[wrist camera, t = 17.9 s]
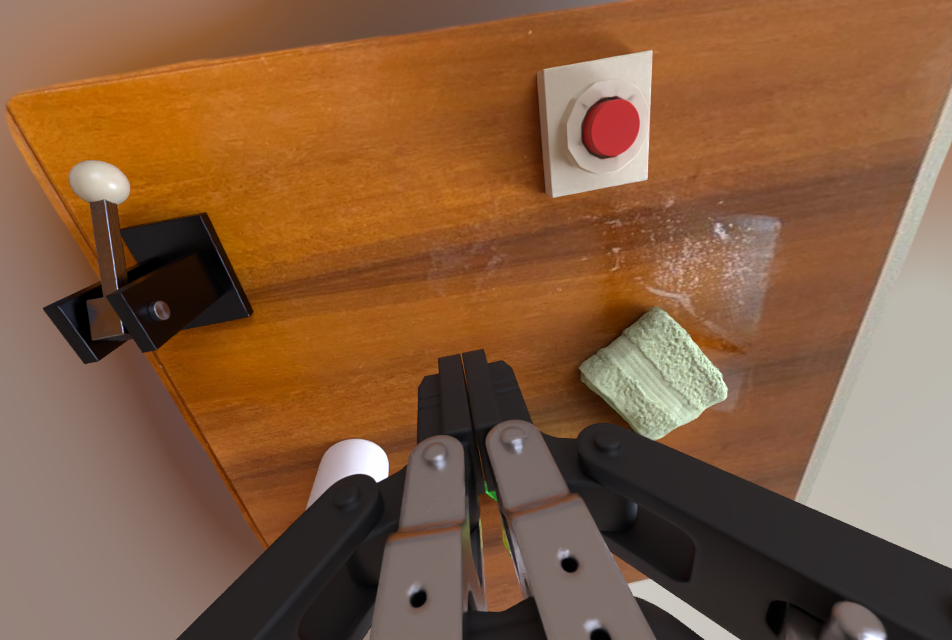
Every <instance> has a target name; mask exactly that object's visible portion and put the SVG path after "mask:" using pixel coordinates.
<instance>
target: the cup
mask: <svg viewBox="0 0 952 640" xmlns="http://www.w3.org/2000/svg"><path fill="white" fill-rule="evenodd" d="M388 470H389V463H388V458H387V456H386V454H385V452H384V451H383V450H382V449H381V448H380V447H379V446H378V445H376V444H375V443H373V442H370V441H367V440H363V439H348V440H344V441H341V442H338V443H336V444H335V445H333V446H332V447H330V448H329V449H328V450H327V451H326V452H325V454H324V456H323V458H322V460H321V462H320V465H319V468H318V472H317V475H316V478H315V481H314V485H313V488H312V491H311V494H310V497H309V501H308V504H307V507H306V510H307V509H308V508H309V507H310V506H311V505H312V504H313V503H314V502H315V501H316V500H317V499H318V498H319V497H320V496H321V495H322V494H323V493H324V492H325V491H326V490H327V489H328V488H329V487H330V486H331V485H332V484H334V483H335V482H337V481H338V480H340V479H342V478H344V477H346V476H349V475H353V474H366V475H369V476H371V477H373V478H374V479H375V480H376V482H379V481H381V480H383V479H385V478H387V477H388ZM306 510H305V511H306Z"/></svg>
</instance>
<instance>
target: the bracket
mask: <svg viewBox="0 0 952 640" xmlns="http://www.w3.org/2000/svg"><path fill="white" fill-rule="evenodd" d="M121 236H122V238H123V240H124V241H125V243H126V245H127V246H128V248H129V250H130V252H131V253H132V255H133V257H134V258H135V260H136V262H137V263H138V264H136V265H134V266H132V267H129V268H127V269H126V270H127V277H128V283H129V284H127V285H126V286H124V287H122V288H120V289H118V290H116V291H114V292H112V293H110V294H108V295H106V298H107V300H108V301H109V303H110V304H111V306H112V307H113V309H114V310H115V312H116V313H117V315H118V316H119V318H120V319H121V321H122V322H123V324H124V326H125V327H126V329H127V330H128V332H129V333H130V335H131V336H132V338H133V339H134V341H135V342H136V344H137V345H138V347H139V348H140V350H141V351H142V353H144V352H150V351H155V350H157V349H158V348H160V347H161V346H162V345H163V344H165V343H166V342H167V341H168V340H169V339H171V338H172V337H173V336H174V335H175V334H177V333H178V332H179V331H180V330H185V329H190V328H195V327H200V326H205V325H211V324H216V323H221V322H226V321H231V320H236V319H241V318H246V317H249V316H250V315H251V314H252V313H253V309H252V307H251V305H250V303H249V301H248V299H247V297H246V295H245V293H244V290H243V288H242V286H241V284H240V282H239V280H238V278H237V276H236V274H235V272H234V269H233V267H232V265H231V263H230V261H229V259H228V257H227V255H226V253H225V250H224V248H223V246H222V244H221V242H220V240H219V238H218V236H217V234H216V232H215V229H214V227H213V225H212V223H211V221H210V219H209V217H208V215H207V213H199V214H194V215H189V216H183V217H178V218H172V219H167V220H162V221H156V222H151V223H146V224H140V225H135V226H129V227H125V228H122V229H121ZM102 297H103V292H102V285H101V281H99V282H97V283H95V284H93V285H91V286H89V287H87V288H84V289H82V290H80V291H78V292H76V293H74V294H72V295H70V296H68V297H65V298H63V299H61V300H59V301H57V302H54V303H52V304H50V305H48V306H46V307H44V308H43V310H44V311H45V313H46V314H47V315H48V317H49V318H50V319H51V321H52V322H53V323H54V325H55V326H56V327H57V329H58V330H59V331H60V333H61V334H62V335H63V336H64V338H65V339H66V340H67V342H68V343H69V344H70V346H71V347H72V348H73V350H74V351H75V352H76V354H77V355H78V356H79V358H80V359H81V360H82V362H83V363H84V364H87V363H93V362H98V361H99V360H101V359H102V358H104V357H105V356H107V355H108V354H109V353H111V352H112V351H114V350H115V349H116V348H118V347H119V346H121V345H122V344H123V343H125V342H126V341H128V340H125V341H97V340H92V339H91V333H90V326H89V318H88V311H87V304H86V301H87V300H92V299H97V298H102Z"/></svg>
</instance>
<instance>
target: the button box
mask: <svg viewBox="0 0 952 640" xmlns="http://www.w3.org/2000/svg"><path fill="white" fill-rule="evenodd" d="M651 72H652V50H649V51H643V52H638V53H632V54H627V55H621V56H615V57H610V58H604V59H599V60H593V61H587V62H582V63H576V64H571V65H565V66H559V67H554V68H548V69H544V70H542V71H540V72H538V73H537V86H538V99H539V112H540V125H541V138H542V152H543V165H544V178H545V191H546V194H547V195H548V196H550V197H552V198H554V197H559V196H564V195H570V194H575V193H580V192H585V191H591V190H596V189H601V188H606V187H612V186H617V185H622V184H627V183H632V182H638V181H643V180H647V172H648V147H649V122H650V97H651ZM616 99H623V100H626V101H629V102H630V103H632V104H633V105H634V107H635V108H636V109H637V111H638V114H639V118H640V128H639V133H638V136H637V138H636V140H635V142H634V143H633V144H632V146H631V147H630V148H629V149H628V150H626V151H625V152H624V153H622V154H619V155H616V156H605V155H599V154H596V153H594V152H592V151H591V150H590V149H589V148H588V147H587V145H586V143H585V141H584V137H583V127H584V122H585V120H586V117H587V115H588V114H589V112H590V111H591V110H592V109H593V108H594V107H595V106H596V105H598V104H599V103H602V102H604V101H609V100H616Z"/></svg>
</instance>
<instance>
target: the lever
mask: <svg viewBox="0 0 952 640" xmlns="http://www.w3.org/2000/svg"><path fill="white" fill-rule="evenodd" d="M69 183H70V186H71V188H72V190H73V191H74V192H75V193H76V195H77V196H79V197H80V198H81V199H83V200H84V201H86V202H88V203H90V208H91V215H92V222H93V229H94V236H95V243H96V250H97V257H98V264H99V271H100V278H101V285H102V292H103V297H102V298H97V299H92V300H87V301H86V304H87V311H88V318H89V326H90V333H91V339H92V340H97V341H125V340H130V339H133V338H132V336H131V335H130V333H129V332H128V330H127V329H126V327H125V326H124V324H123V322H122V321H121V319H120V318H119V316H118V315H117V313H116V312H115V310H114V309H113V307H112V306H111V304H110V303H109V301H108V300H107V298H106V295H108V294H110V293H112V292H114V291H116V290H118V289H120V288H122V287H124V286H126V285H127V284H129V283H128V277H127V270H126V263H125V256H124V250H123V243H122V236H121V229H120V223H119V216H118V209H117V205H119V204H121V203H123V202H124V201H125V200H126V199H127V198H128V196H129V194H130V184H129V181H128V179H127V177H126V176H125V175H124V174H123V173H122V171H120V170H119V169H118V168H116V167H115V166H113V165H111V164H109V163H106V162H103V161H98V160H87V161H82V162H80V163H78V164H76V165H75V166H74V167H73V168H72V169H71V171H70V173H69Z"/></svg>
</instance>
